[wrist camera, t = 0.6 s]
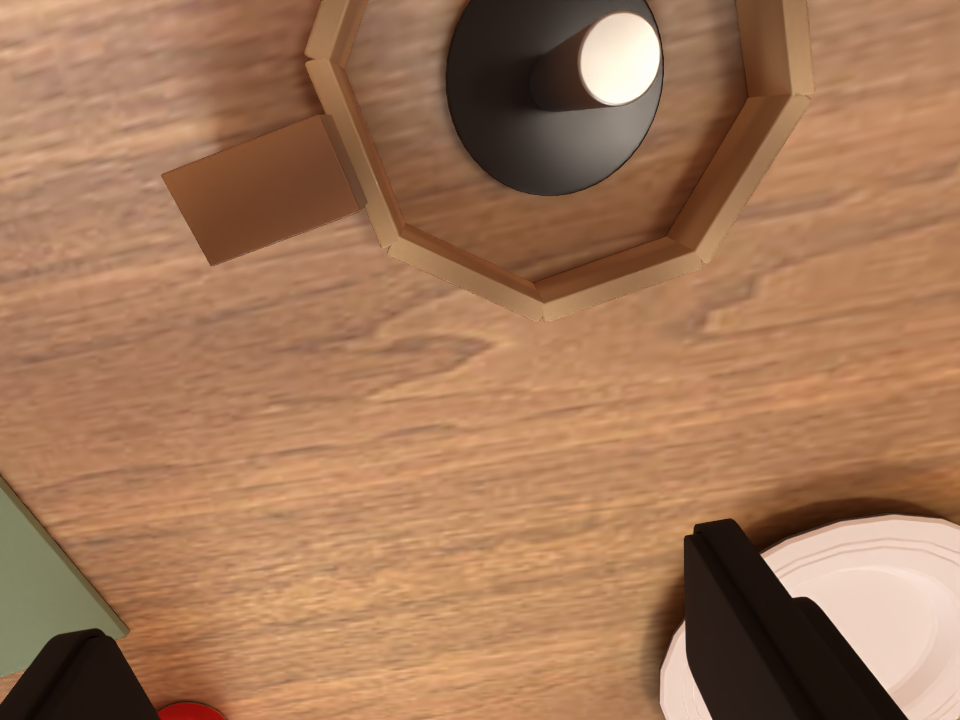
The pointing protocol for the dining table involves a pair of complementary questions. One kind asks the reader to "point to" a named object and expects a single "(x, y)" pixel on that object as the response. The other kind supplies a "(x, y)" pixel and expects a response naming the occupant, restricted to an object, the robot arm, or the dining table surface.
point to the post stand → (554, 88)
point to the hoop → (363, 183)
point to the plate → (866, 608)
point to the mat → (40, 589)
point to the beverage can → (189, 712)
